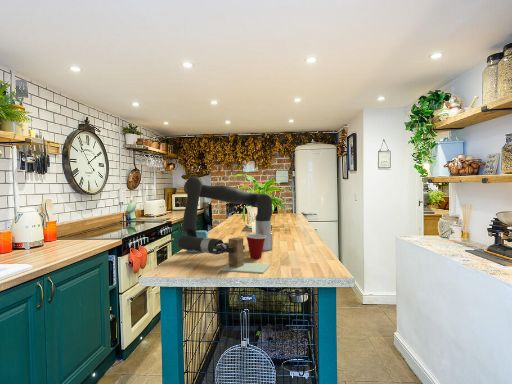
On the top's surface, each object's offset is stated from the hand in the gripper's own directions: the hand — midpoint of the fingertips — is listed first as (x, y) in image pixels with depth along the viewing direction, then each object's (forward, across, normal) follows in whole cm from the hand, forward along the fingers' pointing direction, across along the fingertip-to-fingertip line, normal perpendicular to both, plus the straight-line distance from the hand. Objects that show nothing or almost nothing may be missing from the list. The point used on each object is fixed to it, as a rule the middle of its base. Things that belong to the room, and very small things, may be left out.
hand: (239, 249), depth 150 cm
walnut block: (-2, 0, +8) cm, 8 cm away
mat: (+3, +1, +9) cm, 9 cm away
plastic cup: (-4, +21, +9) cm, 23 cm away
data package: (-42, +18, +9) cm, 47 cm away
